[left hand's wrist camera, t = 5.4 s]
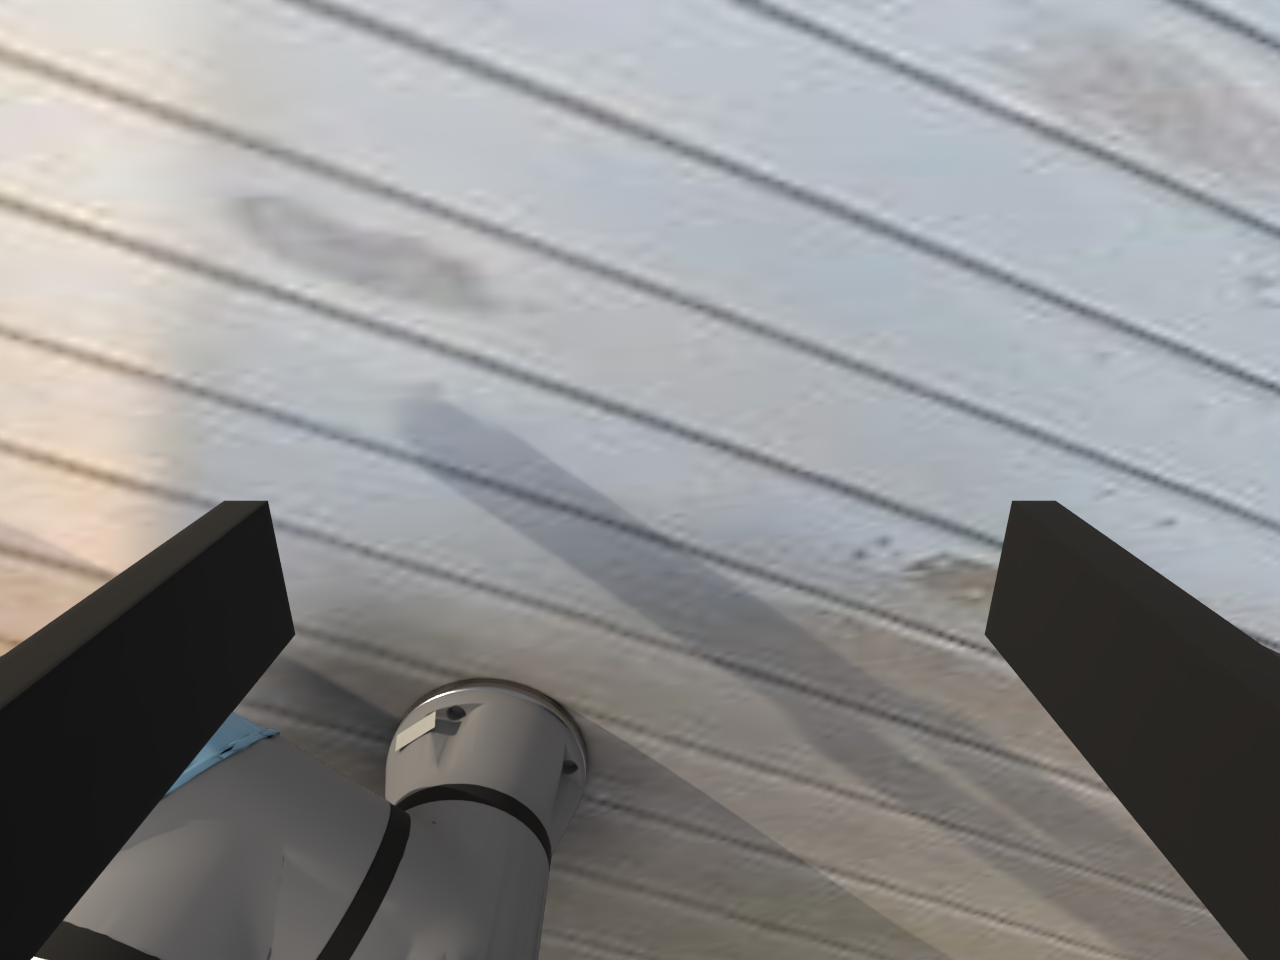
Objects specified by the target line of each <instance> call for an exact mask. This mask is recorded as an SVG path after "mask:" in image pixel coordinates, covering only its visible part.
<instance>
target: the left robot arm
mask: <svg viewBox="0 0 1280 960" xmlns="http://www.w3.org/2000/svg"><path fill="white" fill-rule="evenodd" d="M294 635H295V631H294V626H293V621H292V616H291V611H290V606H289V602H288V597H287V592H286V587H285V582H284V577H283V572H282V567H281V563H280V558H279V553H278V548H277V543H276V538H275V533H274V528H273V523H272V519H271V514H270V509H269V504H268V501H223V502H222V503H221V504H219V505H218V506H216V507H215V508H213V509H212V510H211V511H209V512H208V513H206V514H205V515H203V516H202V517H201V518H199V519H198V520H196V521H195V522H193V523H192V524H191V525H189V526H188V527H186V528H185V529H183V530H182V531H181V532H179V533H178V534H176V535H175V536H173V537H172V538H171V539H169V540H168V541H166V542H165V543H163V544H162V545H161V546H159V547H158V548H156V549H155V550H153V551H152V552H151V553H149V554H148V555H146V556H145V557H143V558H142V559H141V560H139V561H138V562H136V563H135V564H133V565H132V566H131V567H129V568H128V569H126V570H125V571H123V572H122V573H121V574H119V575H118V576H116V577H115V578H113V579H112V580H111V581H109V582H108V583H106V584H105V585H103V586H102V587H101V588H99V589H98V590H96V591H95V592H93V593H92V594H91V595H89V596H88V597H86V598H85V599H83V600H82V601H81V602H79V603H78V604H76V605H75V606H73V607H72V608H71V609H69V610H68V611H66V612H65V613H63V614H62V615H61V616H59V617H58V618H56V619H55V620H53V621H52V622H51V623H49V624H48V625H46V626H45V627H43V628H42V629H41V630H39V631H38V632H36V633H35V634H33V635H32V636H31V637H29V638H28V639H26V640H25V641H23V642H22V643H21V644H19V645H18V646H16V647H15V648H13V649H12V650H11V651H9V652H8V653H6V654H5V655H3V656H1V657H0V960H538V956H539V949H540V941H541V933H542V925H543V917H544V910H545V902H546V894H547V886H548V878H549V870H550V863H551V856H552V854H553V852H554V850H555V848H556V847H557V845H558V843H559V841H560V839H561V837H562V836H563V834H564V832H565V830H566V828H567V826H568V825H569V823H570V821H571V819H572V817H573V815H574V813H575V812H576V810H577V808H578V805H579V803H580V800H581V797H582V794H583V791H584V787H585V780H586V770H587V753H586V748H585V744H584V741H583V738H582V735H581V733H580V731H579V730H578V728H577V726H576V725H575V723H574V722H573V720H572V719H571V718H570V717H569V715H568V714H567V713H566V712H565V711H564V710H563V709H562V708H561V707H560V706H558V705H557V704H556V703H555V702H553V701H552V700H551V699H549V698H548V697H546V696H544V695H542V694H541V693H539V692H537V691H535V690H533V689H530V688H528V687H525V686H522V685H519V684H516V683H512V682H507V681H502V680H493V679H473V680H465V681H459V682H455V683H451V684H448V685H445V686H442V687H440V688H437V689H435V690H433V691H431V692H430V693H428V694H426V695H425V696H423V697H422V698H421V699H419V700H418V701H417V702H416V703H415V704H413V705H412V706H411V708H410V709H409V710H408V711H407V712H406V714H405V715H404V717H403V718H402V720H401V722H400V724H399V726H398V728H397V730H396V732H395V734H394V736H393V739H392V741H391V744H390V748H389V752H388V757H387V762H386V790H385V799H384V798H382V797H380V796H379V795H377V794H375V793H374V792H372V791H370V790H369V789H367V788H365V787H363V786H362V785H360V784H358V783H357V782H355V781H353V780H352V779H350V778H348V777H347V776H345V775H343V774H342V773H340V772H338V771H337V770H335V769H333V768H332V767H330V766H329V765H327V764H325V763H324V762H322V761H320V760H319V759H317V758H315V757H314V756H312V755H311V754H309V753H307V752H306V751H304V750H302V749H301V748H299V747H297V746H296V745H294V744H292V743H291V742H289V741H288V740H286V739H284V738H283V737H281V736H279V731H277V730H276V729H271V728H267V729H266V728H263V727H261V726H259V725H257V724H255V723H253V722H251V721H250V720H248V719H246V718H244V717H242V716H240V715H238V714H236V713H234V712H233V711H234V709H235V708H236V707H237V706H238V704H239V703H240V702H241V701H242V699H243V698H244V697H245V696H246V695H247V693H248V692H249V691H250V690H251V688H252V687H253V686H254V685H255V683H256V682H257V681H258V680H259V679H260V677H261V676H262V675H263V674H264V672H265V671H266V670H267V669H268V667H269V666H270V665H271V664H272V663H273V661H274V660H275V659H276V658H277V656H278V655H279V654H280V653H281V651H282V650H283V649H284V648H285V647H286V645H287V644H288V643H289V642H290V640H291V639H292V638H293V637H294ZM985 635H986V637H987V638H988V639H989V640H990V642H991V643H992V644H993V645H994V647H995V648H996V649H997V650H998V651H999V653H1000V654H1001V655H1002V656H1003V658H1004V659H1005V660H1006V661H1007V663H1008V664H1009V665H1010V666H1011V667H1012V669H1013V670H1014V671H1015V672H1016V674H1017V675H1018V676H1019V677H1020V679H1021V680H1022V681H1023V682H1024V683H1025V685H1026V686H1027V687H1028V688H1029V690H1030V691H1031V692H1032V693H1033V695H1034V696H1035V697H1036V698H1037V699H1038V701H1039V702H1040V703H1041V704H1042V706H1043V707H1044V708H1045V709H1046V711H1047V712H1048V713H1049V714H1050V715H1051V717H1052V718H1053V719H1054V720H1055V722H1056V723H1057V724H1058V725H1059V727H1060V728H1061V729H1062V730H1063V731H1064V733H1065V734H1066V735H1067V736H1068V738H1069V739H1070V740H1071V741H1072V743H1073V744H1074V745H1075V746H1076V748H1077V749H1078V750H1079V751H1080V752H1081V754H1082V755H1083V756H1084V757H1085V759H1086V760H1087V761H1088V762H1089V764H1090V765H1091V766H1092V767H1093V768H1094V770H1095V771H1096V772H1097V773H1098V775H1099V776H1100V777H1101V778H1102V780H1103V781H1104V782H1105V783H1106V784H1107V786H1108V787H1109V788H1110V789H1111V791H1112V792H1113V793H1114V794H1115V796H1116V797H1117V798H1118V799H1119V800H1120V802H1121V803H1122V804H1123V805H1124V807H1125V808H1126V809H1127V810H1128V812H1129V813H1130V814H1131V815H1132V816H1133V818H1134V819H1135V820H1136V821H1137V823H1138V824H1139V825H1140V826H1141V828H1142V829H1143V830H1144V831H1145V832H1146V834H1147V835H1148V836H1149V837H1150V839H1151V840H1152V841H1153V842H1154V844H1155V845H1156V846H1157V847H1158V848H1159V850H1160V851H1161V852H1162V853H1163V855H1164V856H1165V857H1166V858H1167V860H1168V861H1169V862H1170V863H1171V865H1172V866H1173V867H1174V868H1175V869H1176V871H1177V872H1178V873H1179V874H1180V876H1181V877H1182V878H1183V879H1184V881H1185V882H1186V883H1187V884H1188V885H1189V887H1190V888H1191V889H1192V890H1193V892H1194V893H1195V894H1196V895H1197V897H1198V898H1199V899H1200V900H1201V901H1202V903H1203V904H1204V905H1205V906H1206V908H1207V909H1208V910H1209V911H1210V913H1211V914H1212V915H1213V916H1214V917H1215V919H1216V920H1217V921H1218V922H1219V924H1220V925H1221V926H1222V927H1223V929H1224V930H1225V931H1226V932H1227V933H1228V935H1229V936H1230V937H1231V938H1232V940H1233V941H1234V942H1235V943H1236V945H1237V946H1238V947H1239V948H1240V949H1241V951H1242V952H1243V953H1244V954H1245V956H1246V957H1247V958H1248V959H1249V960H1280V653H1277V652H1275V651H1273V650H1271V649H1269V648H1267V647H1265V646H1263V645H1261V644H1259V643H1258V642H1257V641H1255V640H1254V639H1252V638H1251V637H1249V636H1248V635H1247V634H1245V633H1244V632H1242V631H1241V630H1239V629H1238V628H1237V627H1235V626H1234V625H1232V624H1231V623H1229V622H1228V621H1227V620H1225V619H1224V618H1222V617H1221V616H1219V615H1218V614H1217V613H1215V612H1214V611H1212V610H1211V609H1209V608H1208V607H1207V606H1205V605H1204V604H1202V603H1201V602H1199V601H1198V600H1197V599H1195V598H1194V597H1192V596H1191V595H1189V594H1188V593H1187V592H1185V591H1184V590H1182V589H1181V588H1179V587H1178V586H1177V585H1175V584H1174V583H1172V582H1171V581H1169V580H1168V579H1167V578H1165V577H1164V576H1162V575H1161V574H1159V573H1158V572H1157V571H1155V570H1154V569H1152V568H1151V567H1149V566H1148V565H1147V564H1145V563H1144V562H1142V561H1141V560H1139V559H1138V558H1137V557H1135V556H1134V555H1132V554H1131V553H1129V552H1128V551H1127V550H1125V549H1124V548H1122V547H1121V546H1119V545H1118V544H1117V543H1115V542H1114V541H1112V540H1111V539H1109V538H1108V537H1107V536H1105V535H1104V534H1102V533H1101V532H1099V531H1098V530H1097V529H1095V528H1094V527H1092V526H1091V525H1089V524H1088V523H1087V522H1085V521H1084V520H1082V519H1081V518H1079V517H1078V516H1077V515H1075V514H1074V513H1072V512H1071V511H1069V510H1068V509H1067V508H1065V507H1064V506H1062V505H1061V504H1059V503H1058V502H1057V501H1012V504H1011V509H1010V514H1009V519H1008V523H1007V528H1006V533H1005V538H1004V543H1003V548H1002V553H1001V558H1000V563H999V567H998V572H997V577H996V582H995V587H994V592H993V597H992V602H991V606H990V611H989V616H988V621H987V626H986V631H985Z"/></svg>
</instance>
